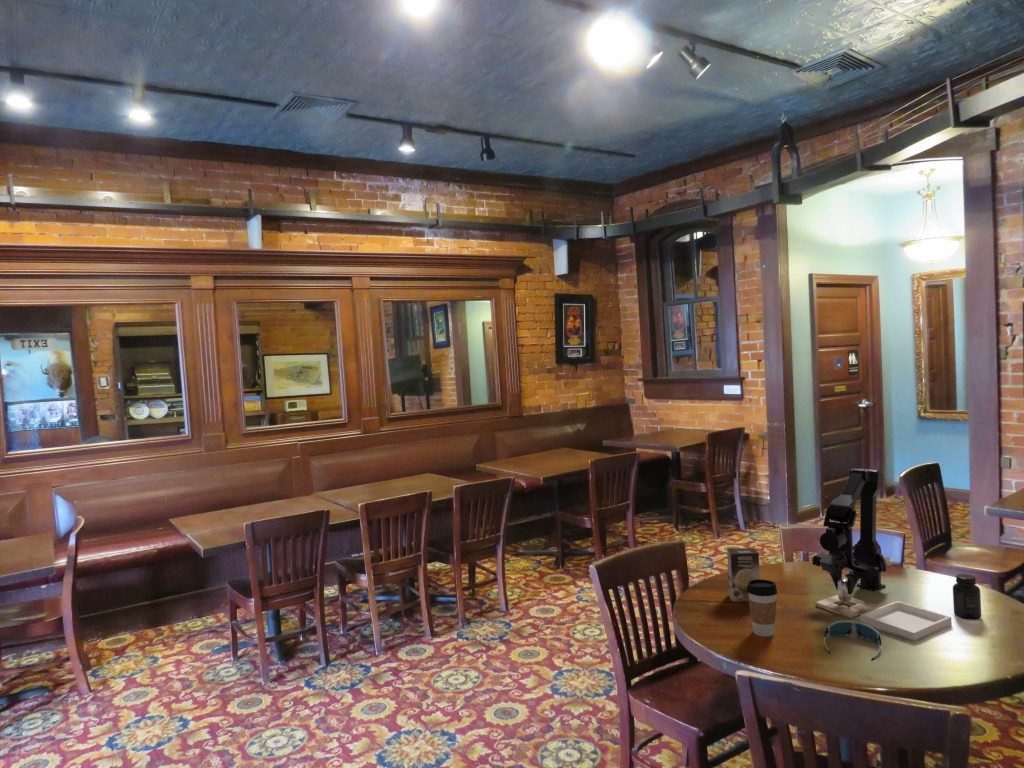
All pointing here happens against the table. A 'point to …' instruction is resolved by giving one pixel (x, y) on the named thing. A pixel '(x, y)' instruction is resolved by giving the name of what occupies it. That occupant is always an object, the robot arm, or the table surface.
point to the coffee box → (741, 571)
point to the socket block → (852, 611)
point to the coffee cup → (762, 606)
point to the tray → (906, 620)
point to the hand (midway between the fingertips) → (844, 592)
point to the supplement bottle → (966, 598)
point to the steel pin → (843, 590)
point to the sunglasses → (849, 625)
